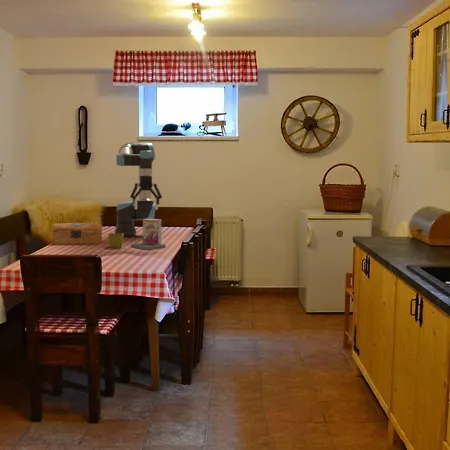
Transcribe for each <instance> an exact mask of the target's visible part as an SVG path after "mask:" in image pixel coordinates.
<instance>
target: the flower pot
mask: <svg viewBox="0 0 450 450" xmlns="http://www.w3.org/2000/svg"><path fill="white" fill-rule="evenodd" d="M107 237H108V243H109V246H110V248H113V249H115V248H118V249H119V248H121V247H122V246H123V243H124V237H125V236H124V233H115V232H110V233H109V234H108V236H107Z"/></svg>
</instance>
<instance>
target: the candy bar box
mask: <svg viewBox="0 0 450 450" xmlns="http://www.w3.org/2000/svg"><path fill="white" fill-rule="evenodd" d="M149 242H152V243H159V244H162V219H157V218H154V219H143V220H142V243H149Z"/></svg>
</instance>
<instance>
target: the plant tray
mask: <svg viewBox="0 0 450 450" xmlns="http://www.w3.org/2000/svg"><path fill="white" fill-rule="evenodd" d="M166 245H167V244H165V243H164V244H163V243H159V244H158V243H152V242H149V243H143V242H142V243H141V242H140V243H139V242H138V243H134V244H133V243H131V244H130V247H131V248H135V249H139V250H144V251H148V250H156V249H163V248H166V247H167V246H166Z"/></svg>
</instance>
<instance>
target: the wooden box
mask: <svg viewBox="0 0 450 450" xmlns="http://www.w3.org/2000/svg"><path fill="white" fill-rule="evenodd" d="M102 241H103V224H102V223H99V222H95V223H94V222H87V223H84V222H76V223H75V222H74V223H73V222H71V223H69V222H68V223H67V222H65V223H62V222H61V223H53V225H52V243H53V245H74V244H76V245H77V244H79V245H83V244H85V245H86V244H102Z"/></svg>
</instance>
